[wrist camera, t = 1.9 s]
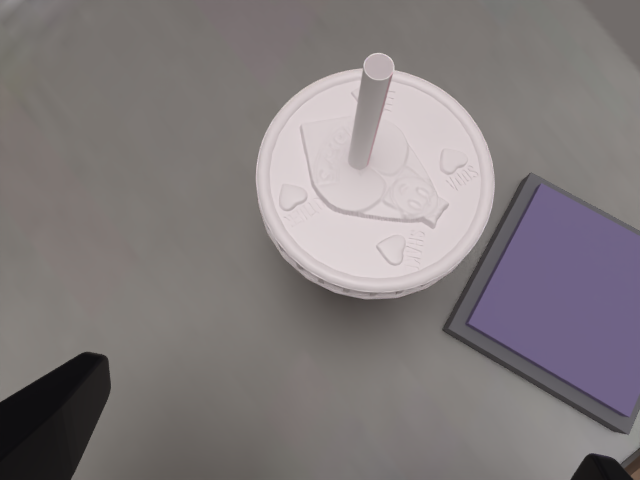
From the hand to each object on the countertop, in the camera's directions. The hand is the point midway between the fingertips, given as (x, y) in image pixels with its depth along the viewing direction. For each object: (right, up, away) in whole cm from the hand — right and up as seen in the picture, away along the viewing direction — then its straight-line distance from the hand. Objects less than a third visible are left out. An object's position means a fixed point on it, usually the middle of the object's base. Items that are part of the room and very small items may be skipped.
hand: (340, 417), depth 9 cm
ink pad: (+10, +1, +13) cm, 16 cm away
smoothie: (+1, +3, +13) cm, 14 cm away
